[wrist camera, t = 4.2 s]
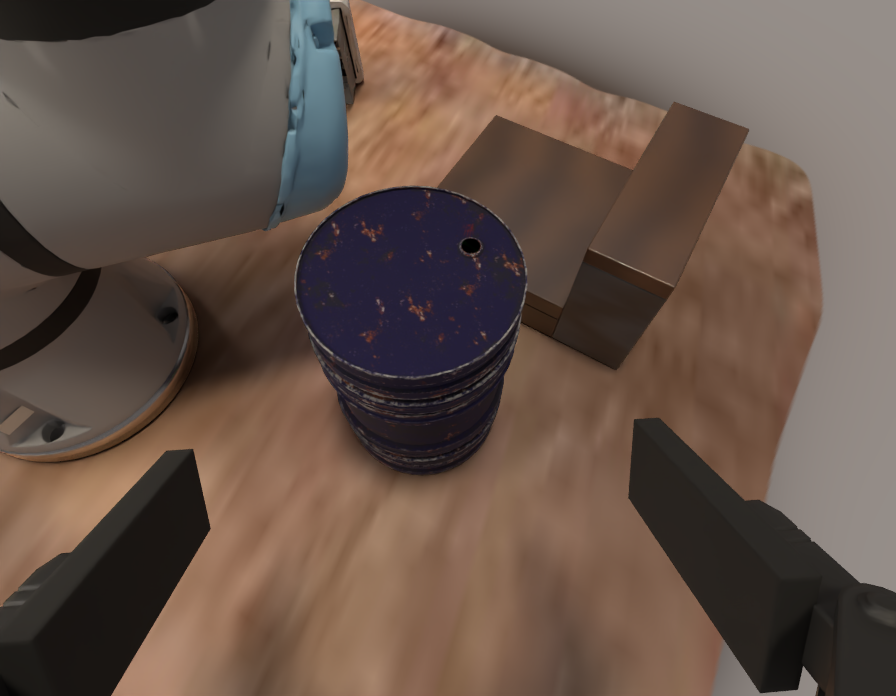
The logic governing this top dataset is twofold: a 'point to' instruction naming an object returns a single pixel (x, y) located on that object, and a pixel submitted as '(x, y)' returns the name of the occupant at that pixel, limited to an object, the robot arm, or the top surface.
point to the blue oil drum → (414, 320)
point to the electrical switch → (346, 47)
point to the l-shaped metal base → (600, 221)
